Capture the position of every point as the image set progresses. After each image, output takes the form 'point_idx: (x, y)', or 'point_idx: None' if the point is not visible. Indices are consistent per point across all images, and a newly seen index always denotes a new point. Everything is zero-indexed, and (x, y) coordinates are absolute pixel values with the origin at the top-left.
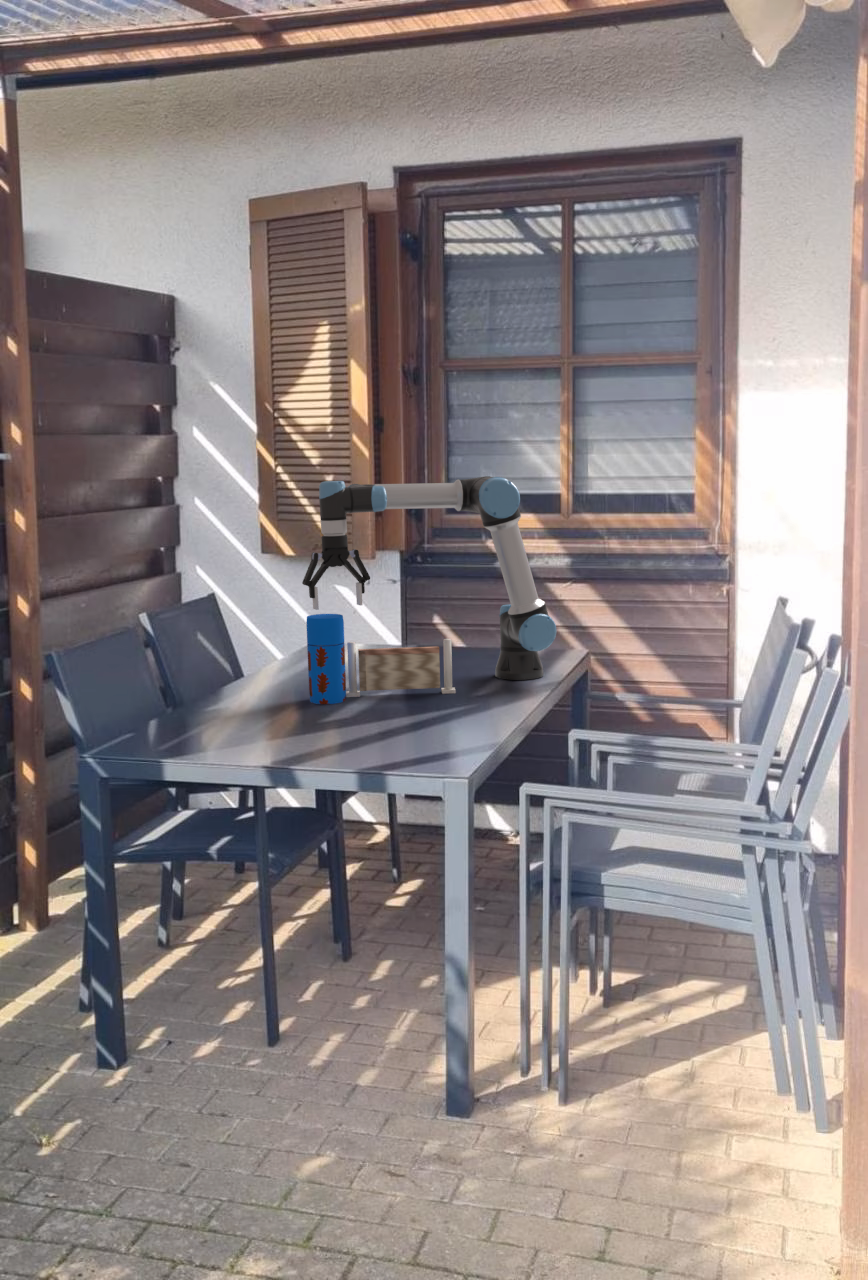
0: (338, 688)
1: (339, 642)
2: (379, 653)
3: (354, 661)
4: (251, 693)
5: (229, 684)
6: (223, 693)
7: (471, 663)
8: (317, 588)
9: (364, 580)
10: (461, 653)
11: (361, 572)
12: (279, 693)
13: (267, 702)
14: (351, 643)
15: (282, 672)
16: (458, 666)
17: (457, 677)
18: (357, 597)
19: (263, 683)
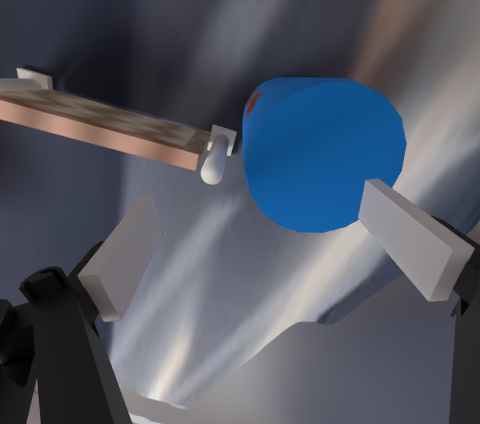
0: (268, 80)
1: (273, 88)
2: (146, 136)
3: (212, 150)
4: (357, 226)
5: (353, 288)
6: None
7: (17, 287)
8: (445, 244)
9: (31, 281)
10: None
11: (17, 393)
12: None
13: None
14: (213, 163)
15: (267, 322)
16: None
17: (30, 209)
18: (148, 243)
19: (313, 278)
